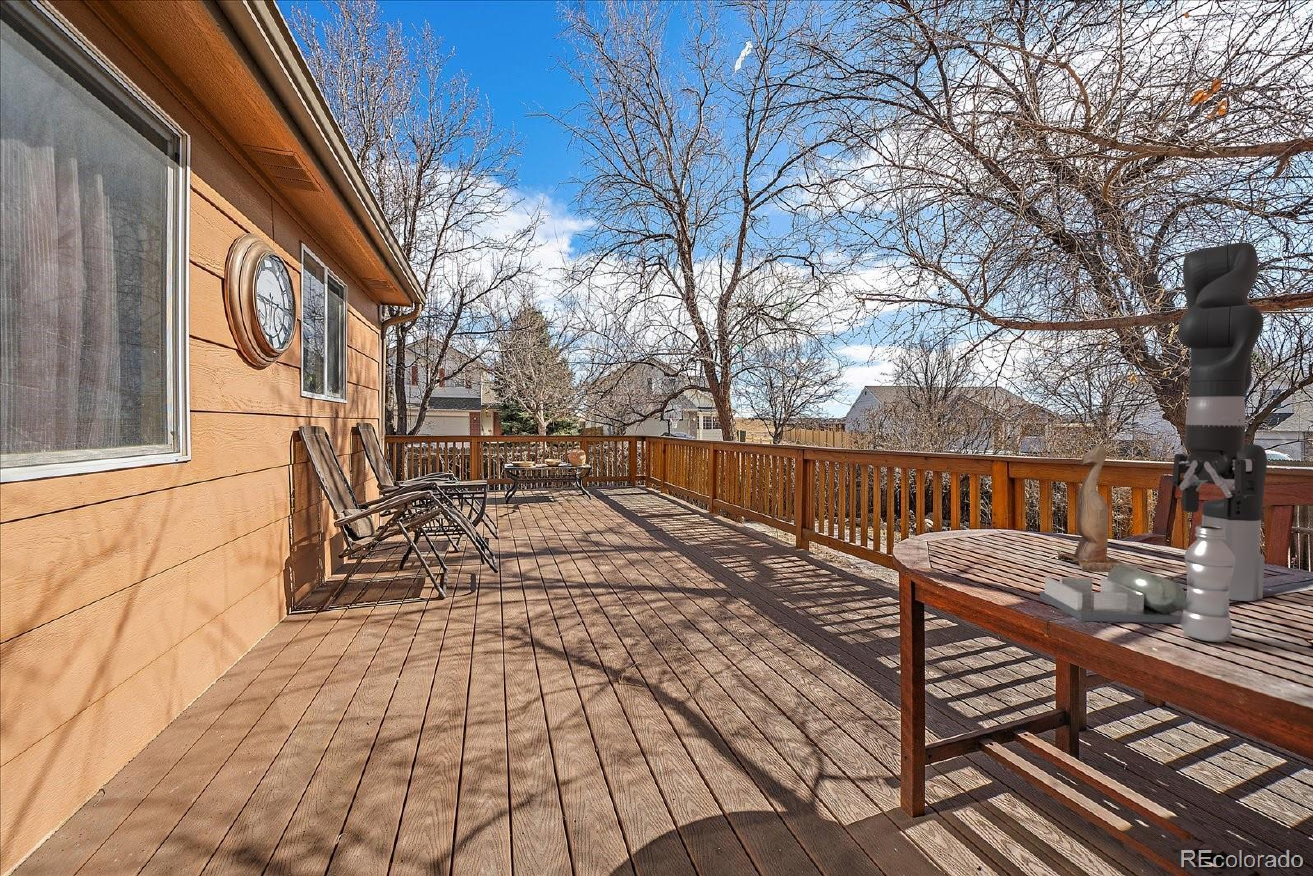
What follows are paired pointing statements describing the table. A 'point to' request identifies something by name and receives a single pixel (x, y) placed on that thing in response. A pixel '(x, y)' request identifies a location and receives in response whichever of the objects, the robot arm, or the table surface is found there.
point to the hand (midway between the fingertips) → (1210, 515)
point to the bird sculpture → (1092, 519)
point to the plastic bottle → (1208, 586)
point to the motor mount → (1118, 597)
